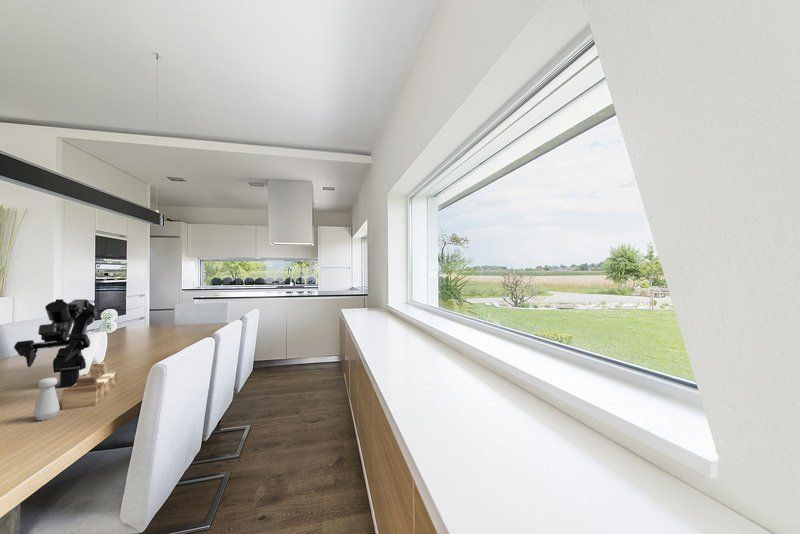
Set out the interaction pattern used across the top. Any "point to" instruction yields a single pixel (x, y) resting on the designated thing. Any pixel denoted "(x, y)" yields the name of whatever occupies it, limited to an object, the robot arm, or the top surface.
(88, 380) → the block
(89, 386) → the toolbox
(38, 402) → the salt shaker
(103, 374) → the lid
